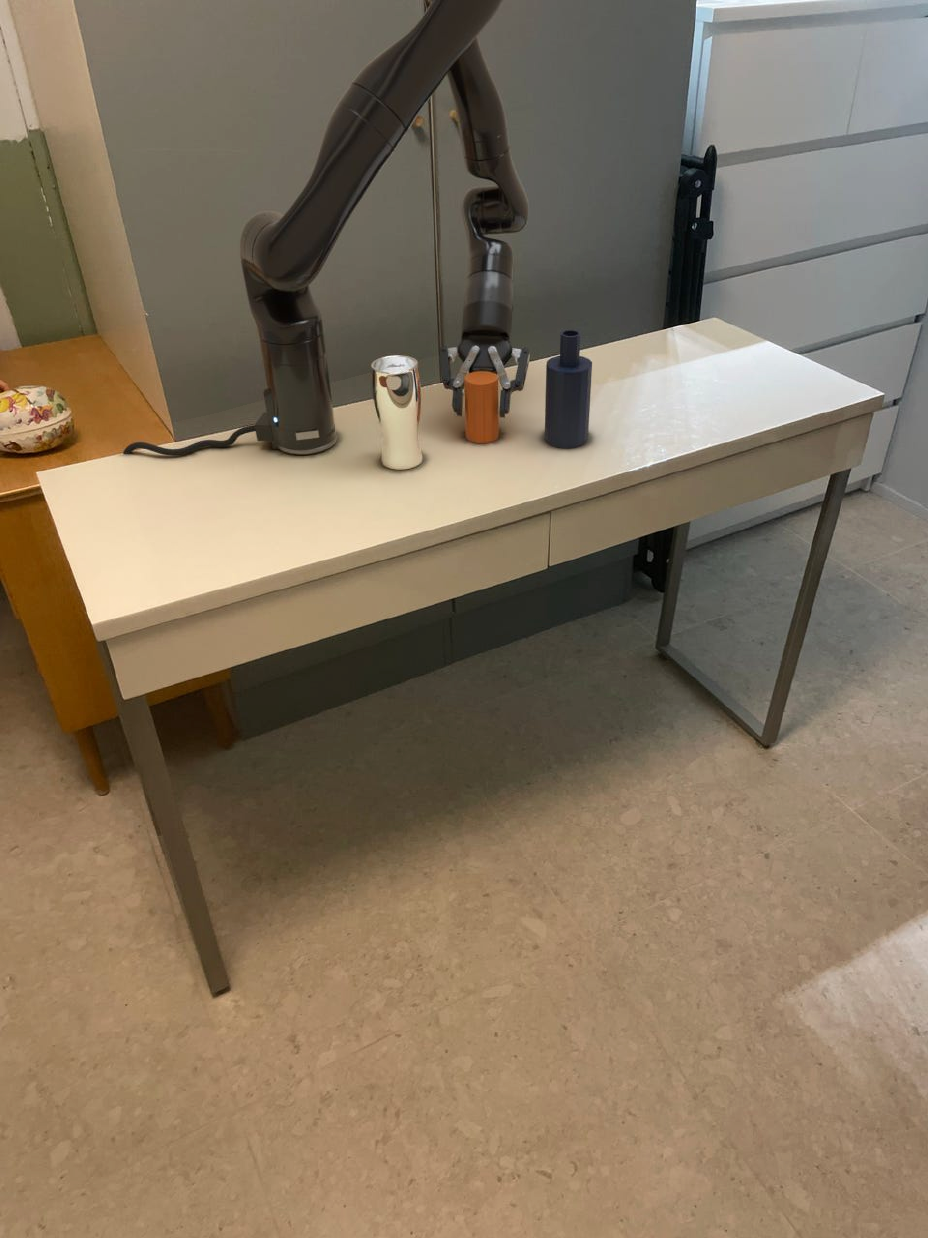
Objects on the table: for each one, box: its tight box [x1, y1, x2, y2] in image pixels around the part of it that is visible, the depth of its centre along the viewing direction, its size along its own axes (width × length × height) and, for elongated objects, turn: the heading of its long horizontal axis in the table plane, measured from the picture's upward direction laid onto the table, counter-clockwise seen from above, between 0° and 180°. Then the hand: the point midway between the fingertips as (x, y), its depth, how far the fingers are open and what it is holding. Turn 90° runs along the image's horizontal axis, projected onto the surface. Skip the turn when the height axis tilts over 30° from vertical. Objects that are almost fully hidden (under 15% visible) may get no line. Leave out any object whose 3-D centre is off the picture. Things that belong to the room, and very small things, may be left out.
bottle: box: [544, 329, 593, 449], centre depth 138 cm, size 7×7×16 cm
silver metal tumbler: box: [370, 354, 423, 471], centre depth 135 cm, size 7×7×15 cm
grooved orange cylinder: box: [463, 371, 500, 444], centre depth 142 cm, size 5×5×10 cm
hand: (480, 414), depth 141 cm, fingers open, 6 cm apart
